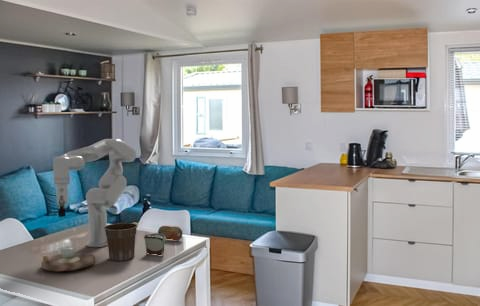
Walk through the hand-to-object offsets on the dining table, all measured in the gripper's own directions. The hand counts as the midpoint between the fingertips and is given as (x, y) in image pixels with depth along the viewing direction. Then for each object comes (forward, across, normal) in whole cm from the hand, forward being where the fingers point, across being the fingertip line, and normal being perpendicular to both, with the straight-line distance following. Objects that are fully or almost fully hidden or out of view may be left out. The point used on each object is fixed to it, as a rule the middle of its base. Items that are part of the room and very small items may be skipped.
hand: (62, 214), depth 232 cm
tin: (+20, +10, -58) cm, 62 cm away
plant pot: (+21, -13, -28) cm, 37 cm away
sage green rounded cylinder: (+19, -11, -3) cm, 22 cm away
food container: (+21, -13, -46) cm, 52 cm away
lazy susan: (+20, -17, -3) cm, 26 cm away
